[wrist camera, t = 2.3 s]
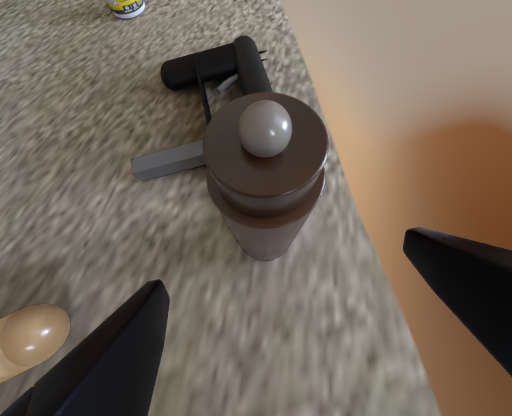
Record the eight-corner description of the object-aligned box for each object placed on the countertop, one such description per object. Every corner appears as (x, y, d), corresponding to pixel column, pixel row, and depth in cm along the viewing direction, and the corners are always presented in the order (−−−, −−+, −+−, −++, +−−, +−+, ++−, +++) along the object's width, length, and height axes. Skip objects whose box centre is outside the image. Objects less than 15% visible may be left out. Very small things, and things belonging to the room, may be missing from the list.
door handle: (127, 231, 17) (324, 180, 17) (122, 61, 24) (261, 23, 24) (151, 239, 20) (317, 196, 20) (140, 87, 27) (263, 53, 27)
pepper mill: (302, 245, 18) (399, 142, 5) (252, 270, 18) (213, 228, 5) (276, 199, 20) (300, 27, 7) (229, 221, 19) (152, 81, 6)
